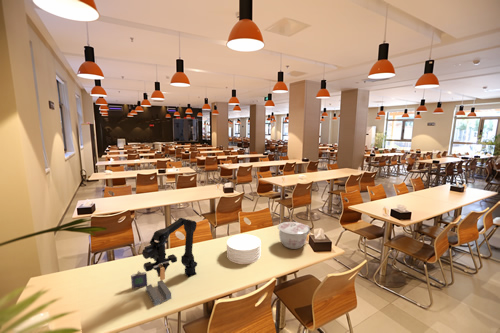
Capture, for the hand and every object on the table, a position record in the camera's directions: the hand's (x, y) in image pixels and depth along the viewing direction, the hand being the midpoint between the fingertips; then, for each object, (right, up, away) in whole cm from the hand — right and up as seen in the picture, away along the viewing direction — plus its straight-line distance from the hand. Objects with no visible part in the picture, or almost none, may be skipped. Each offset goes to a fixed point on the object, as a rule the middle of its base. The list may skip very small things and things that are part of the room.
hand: (161, 275), depth 145 cm
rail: (-2, -13, +1) cm, 13 cm away
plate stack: (+50, -6, +49) cm, 70 cm away
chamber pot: (+94, -4, +65) cm, 114 cm away
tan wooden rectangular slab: (0, -2, 0) cm, 2 cm away
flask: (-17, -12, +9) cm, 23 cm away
